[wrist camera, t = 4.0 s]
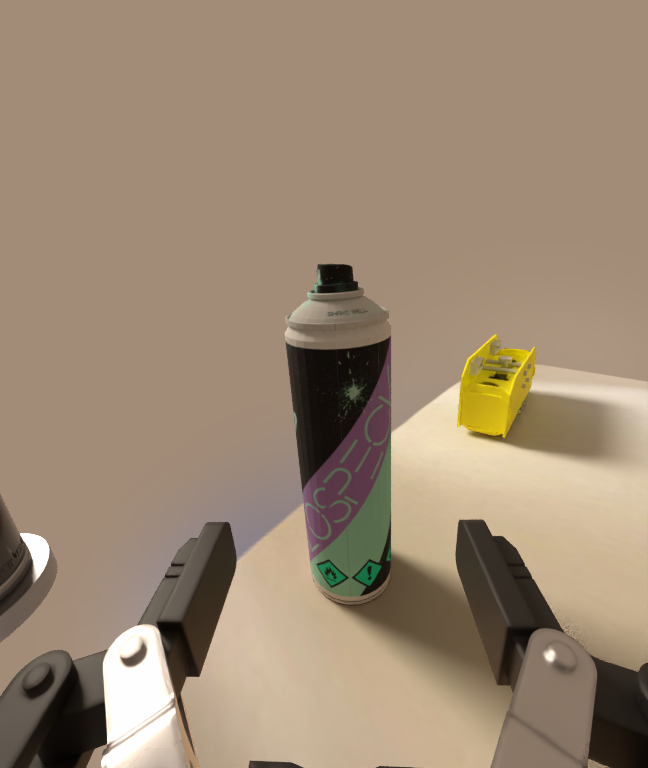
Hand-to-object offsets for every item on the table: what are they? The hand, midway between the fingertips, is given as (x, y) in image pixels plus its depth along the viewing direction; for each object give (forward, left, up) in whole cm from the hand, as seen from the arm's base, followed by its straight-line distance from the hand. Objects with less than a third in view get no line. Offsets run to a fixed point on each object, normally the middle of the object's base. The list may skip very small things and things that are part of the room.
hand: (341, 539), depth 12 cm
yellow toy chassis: (+31, +20, -11) cm, 39 cm away
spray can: (+4, +8, -11) cm, 14 cm away
